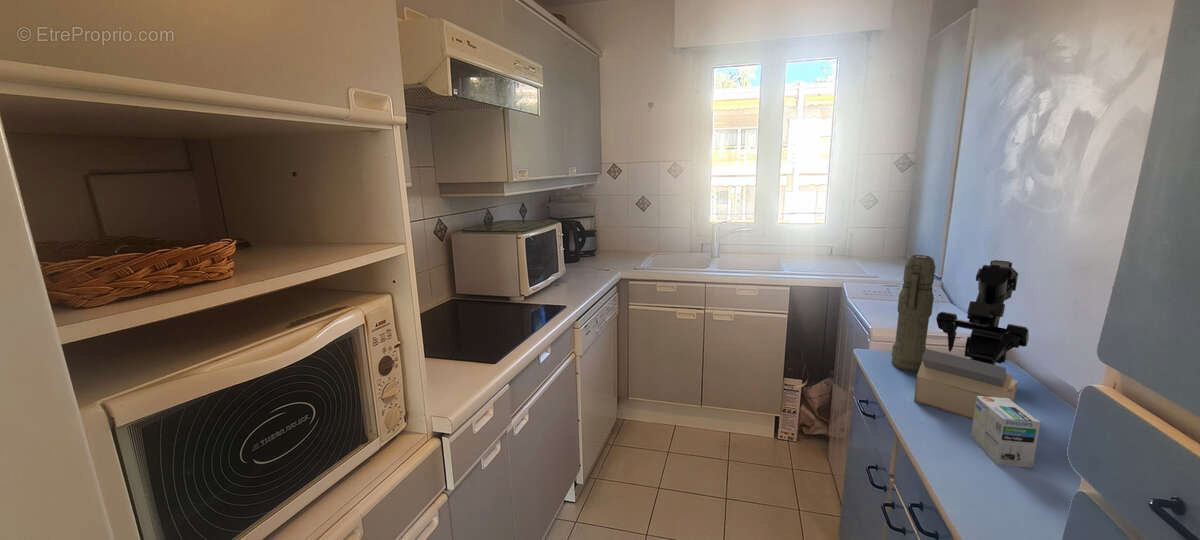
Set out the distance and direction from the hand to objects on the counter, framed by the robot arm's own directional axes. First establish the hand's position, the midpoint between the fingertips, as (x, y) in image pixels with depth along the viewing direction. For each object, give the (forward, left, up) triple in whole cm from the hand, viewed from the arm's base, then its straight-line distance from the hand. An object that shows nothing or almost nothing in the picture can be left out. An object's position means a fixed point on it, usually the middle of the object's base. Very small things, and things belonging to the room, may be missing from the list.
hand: (971, 355), depth 121 cm
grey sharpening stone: (+6, 0, -4) cm, 7 cm away
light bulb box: (+20, +11, -14) cm, 27 cm away
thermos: (-16, -18, -14) cm, 27 cm away
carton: (+1, 0, -13) cm, 13 cm away
